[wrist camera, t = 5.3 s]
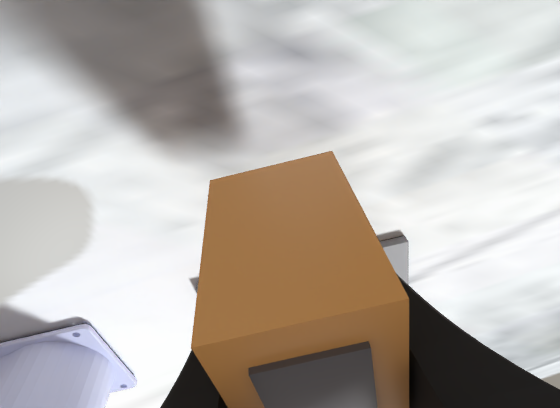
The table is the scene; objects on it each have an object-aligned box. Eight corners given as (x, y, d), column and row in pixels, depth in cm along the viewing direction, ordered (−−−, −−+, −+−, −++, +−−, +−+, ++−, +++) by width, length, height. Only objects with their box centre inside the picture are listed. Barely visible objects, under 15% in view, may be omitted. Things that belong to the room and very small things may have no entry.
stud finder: (267, 328, 16) (282, 499, 11) (210, 180, 11) (190, 355, 6) (354, 309, 16) (411, 472, 11) (332, 150, 11) (412, 304, 6)
